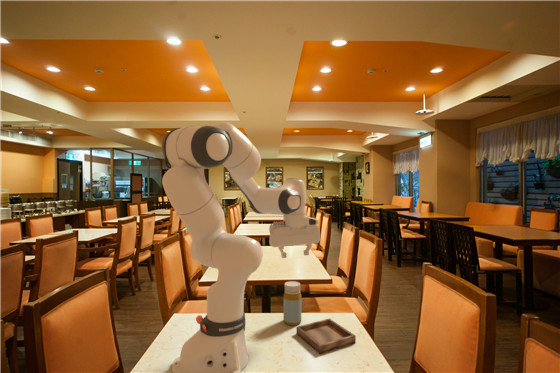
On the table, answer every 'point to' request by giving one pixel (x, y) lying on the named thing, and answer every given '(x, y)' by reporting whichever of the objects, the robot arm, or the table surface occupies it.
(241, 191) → the robot arm
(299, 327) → the serving tray
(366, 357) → the table surface
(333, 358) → the table surface
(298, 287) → the bottle
